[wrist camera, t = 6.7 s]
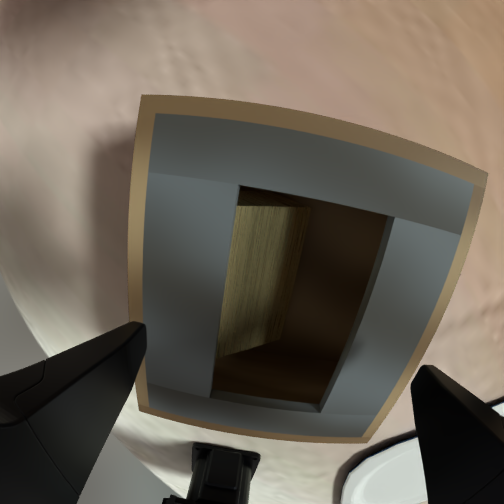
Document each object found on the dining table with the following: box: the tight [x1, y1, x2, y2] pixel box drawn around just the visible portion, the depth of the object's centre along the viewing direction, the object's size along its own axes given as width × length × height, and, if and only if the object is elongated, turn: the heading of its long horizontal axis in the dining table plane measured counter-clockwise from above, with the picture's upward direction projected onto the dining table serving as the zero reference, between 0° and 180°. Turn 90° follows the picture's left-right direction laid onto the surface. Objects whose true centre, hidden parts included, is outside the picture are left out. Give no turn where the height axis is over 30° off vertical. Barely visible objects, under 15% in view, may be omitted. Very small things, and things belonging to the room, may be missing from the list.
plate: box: [341, 401, 504, 504], centre depth 25 cm, size 25×25×2 cm
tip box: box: [128, 95, 488, 443], centre depth 14 cm, size 14×12×7 cm
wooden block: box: [216, 191, 311, 358], centre depth 14 cm, size 7×3×5 cm
